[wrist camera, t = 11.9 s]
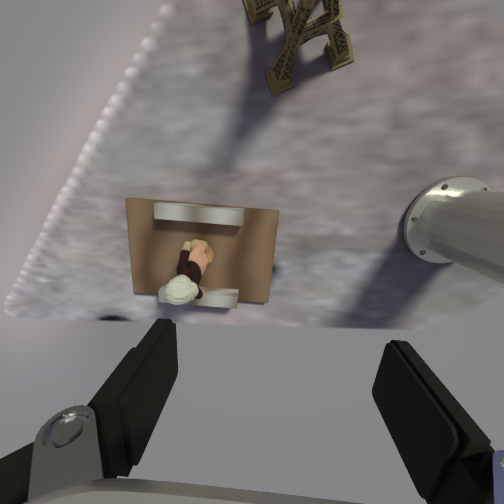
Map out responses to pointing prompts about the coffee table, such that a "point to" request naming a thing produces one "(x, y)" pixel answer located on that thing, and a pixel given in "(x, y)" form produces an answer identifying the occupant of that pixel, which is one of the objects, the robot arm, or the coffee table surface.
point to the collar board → (219, 247)
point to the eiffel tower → (302, 35)
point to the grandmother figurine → (188, 273)
